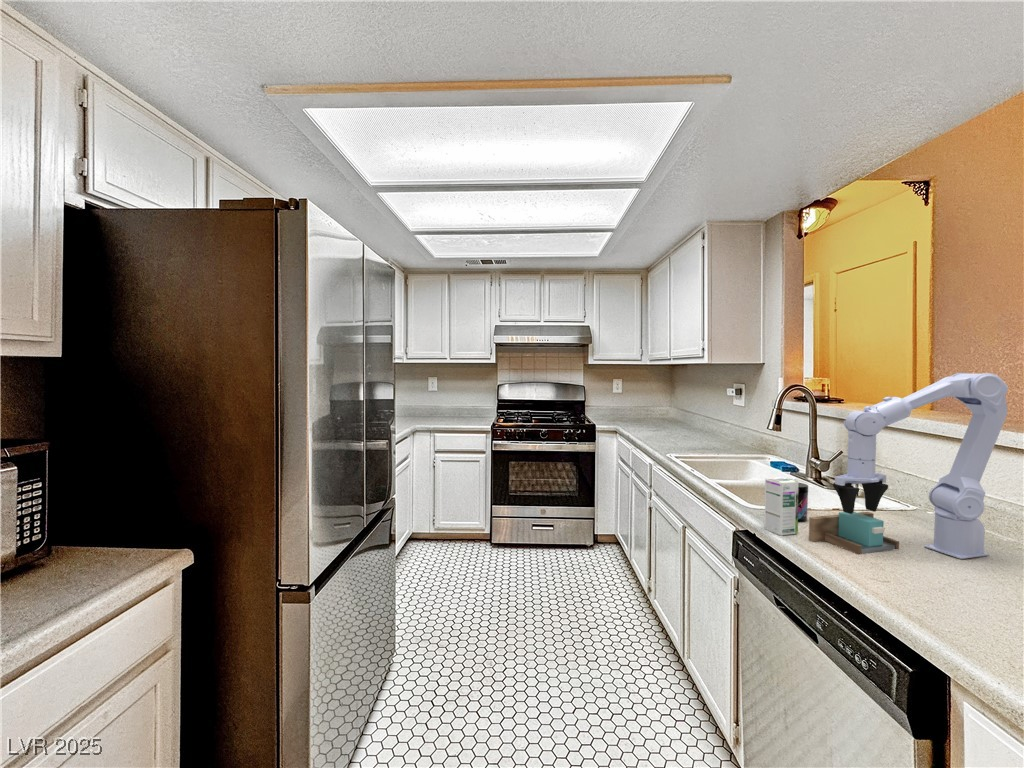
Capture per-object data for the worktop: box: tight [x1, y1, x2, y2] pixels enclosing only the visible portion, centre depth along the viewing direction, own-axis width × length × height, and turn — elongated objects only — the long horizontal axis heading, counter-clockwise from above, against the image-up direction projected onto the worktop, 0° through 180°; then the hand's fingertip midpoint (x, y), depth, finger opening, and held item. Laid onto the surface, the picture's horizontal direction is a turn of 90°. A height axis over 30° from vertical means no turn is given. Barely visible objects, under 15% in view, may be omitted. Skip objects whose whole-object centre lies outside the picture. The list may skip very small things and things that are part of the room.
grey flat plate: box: [835, 535, 895, 554], centre depth 118 cm, size 11×9×1 cm
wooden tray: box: [808, 511, 900, 555], centre depth 118 cm, size 20×10×6 cm, turn 105°
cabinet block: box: [838, 511, 885, 547], centre depth 117 cm, size 4×9×6 cm, turn 15°
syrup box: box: [764, 477, 799, 537], centre depth 127 cm, size 6×6×14 cm
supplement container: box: [798, 481, 809, 523], centre depth 138 cm, size 7×7×10 cm
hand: (859, 511), depth 118 cm, fingers open, 7 cm apart
